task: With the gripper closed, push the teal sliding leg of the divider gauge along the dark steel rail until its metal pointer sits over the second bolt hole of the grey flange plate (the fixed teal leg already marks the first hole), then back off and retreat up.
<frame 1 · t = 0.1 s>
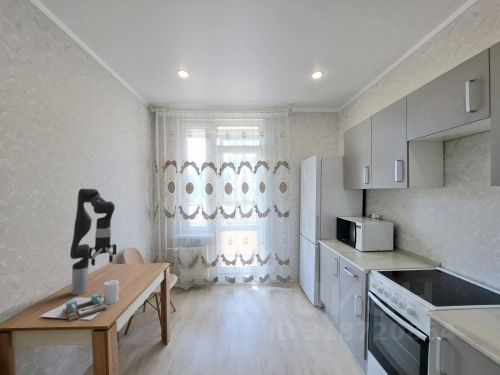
hand: (102, 263, 135), 29 cm above the table, fingers open, 8 cm apart
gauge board: (84, 310, 138), on the table
mug: (112, 300, 153), on the table
fixed leg: (95, 305, 145), resting on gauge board
sliding leg: (72, 307, 134), point 4 cm above the table, slide at 0.0 cm
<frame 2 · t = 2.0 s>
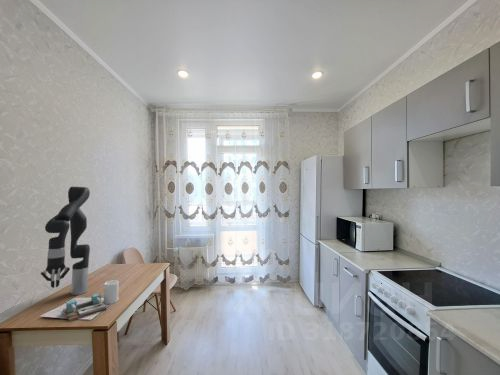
hand: (54, 287, 130), 17 cm above the table, fingers closed
nothing on the table moved.
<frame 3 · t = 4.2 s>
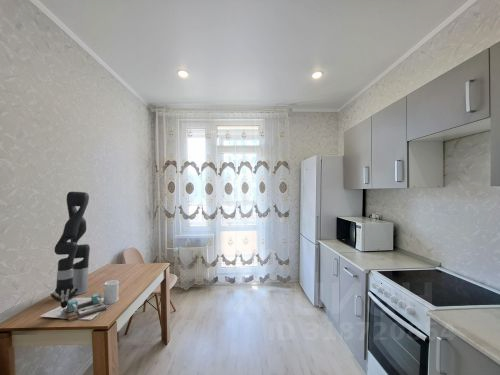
hand: (63, 307, 133), 4 cm above the table, fingers closed
sliding leg: (73, 307, 135), point 4 cm above the table, slide at 0.4 cm, touching gripper
everything else where it was.
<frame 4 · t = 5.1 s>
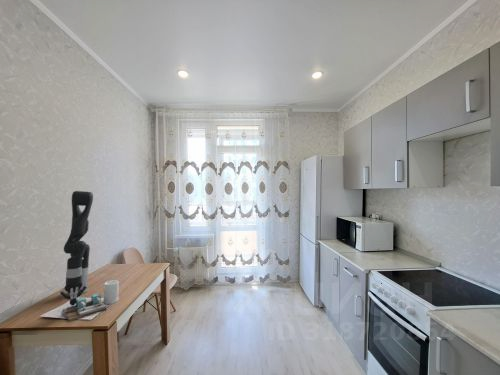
hand: (72, 304, 137), 4 cm above the table, fingers closed
sliding leg: (82, 304, 138), point 4 cm above the table, slide at 4.6 cm, touching gripper
everything else where it was.
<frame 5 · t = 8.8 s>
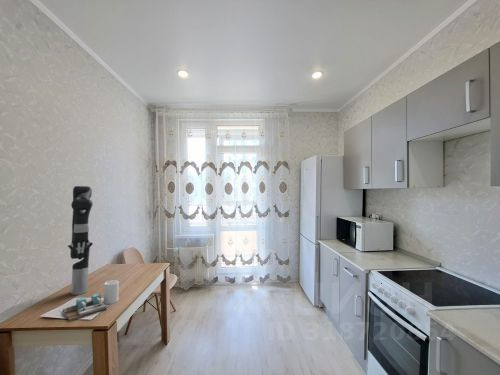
hand: (79, 259, 144), 29 cm above the table, fingers closed
sliding leg: (82, 304, 138), point 4 cm above the table, slide at 4.7 cm
everything else where it was.
at the end: sliding leg slide at 4.7 cm; sliding leg touching nothing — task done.
